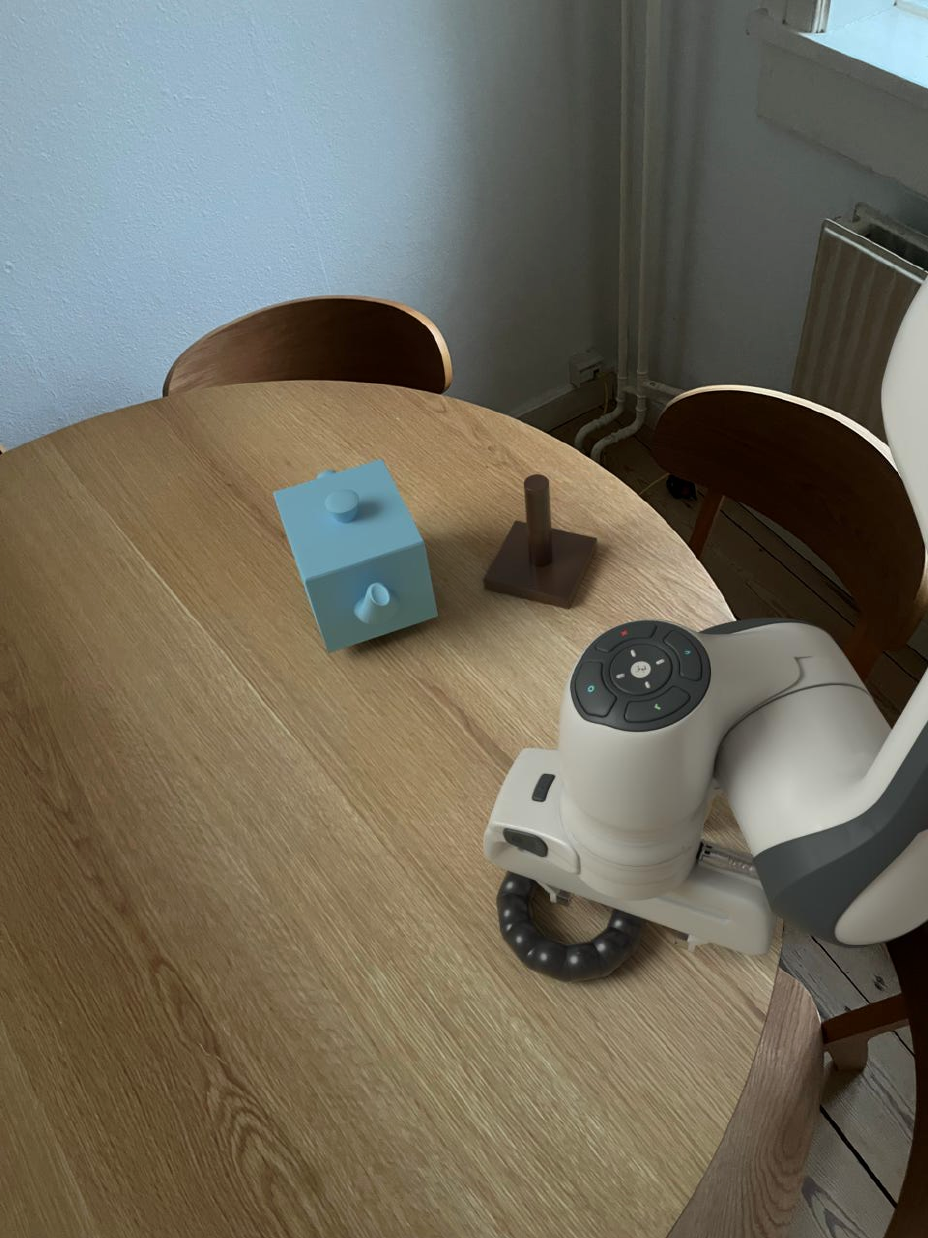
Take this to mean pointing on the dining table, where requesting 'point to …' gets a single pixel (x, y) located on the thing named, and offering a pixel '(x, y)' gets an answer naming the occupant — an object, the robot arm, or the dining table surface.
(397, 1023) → the dining table surface
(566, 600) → the stand
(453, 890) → the dining table surface
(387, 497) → the teapot
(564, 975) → the ring
